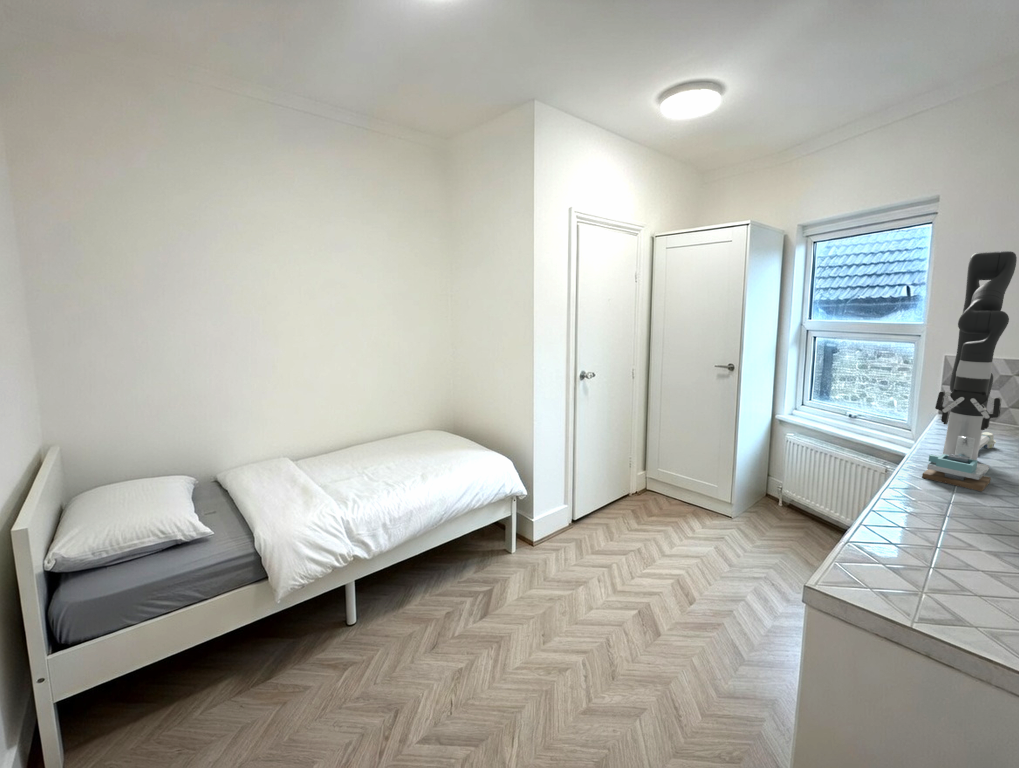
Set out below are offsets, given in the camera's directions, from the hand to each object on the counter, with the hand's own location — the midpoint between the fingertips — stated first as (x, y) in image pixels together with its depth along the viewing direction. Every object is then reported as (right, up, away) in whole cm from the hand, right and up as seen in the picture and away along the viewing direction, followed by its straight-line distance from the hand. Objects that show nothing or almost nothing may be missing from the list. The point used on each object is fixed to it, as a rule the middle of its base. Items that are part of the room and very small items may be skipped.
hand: (963, 426), depth 145 cm
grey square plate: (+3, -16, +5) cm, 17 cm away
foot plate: (+2, -18, +5) cm, 19 cm away
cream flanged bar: (+44, -13, +39) cm, 60 cm away
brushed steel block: (0, -17, +3) cm, 17 cm away
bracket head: (-1, -13, +3) cm, 13 cm away
